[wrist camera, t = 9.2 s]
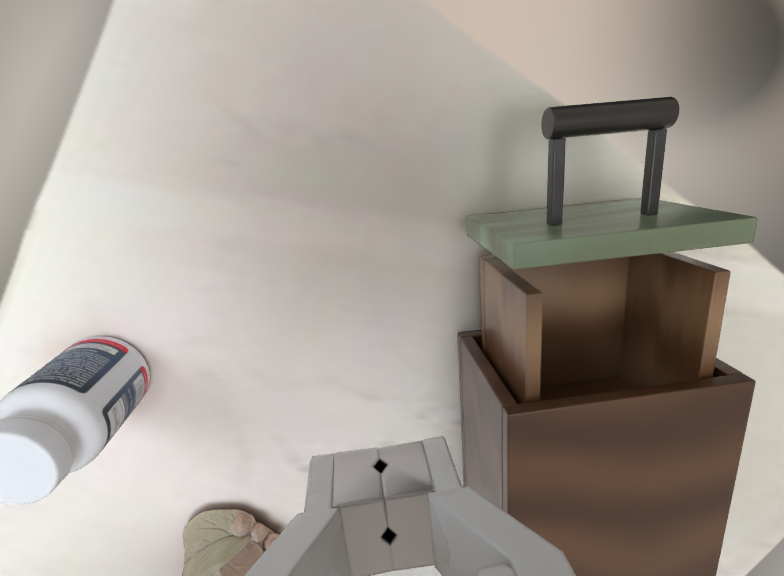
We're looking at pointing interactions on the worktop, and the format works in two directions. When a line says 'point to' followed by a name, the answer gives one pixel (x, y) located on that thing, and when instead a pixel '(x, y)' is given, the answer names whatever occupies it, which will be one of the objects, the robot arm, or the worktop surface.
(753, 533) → the worktop surface
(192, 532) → the figurine
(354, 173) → the worktop surface
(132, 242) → the worktop surface
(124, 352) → the pill bottle
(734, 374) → the cabinet
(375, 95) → the worktop surface
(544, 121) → the drawer
